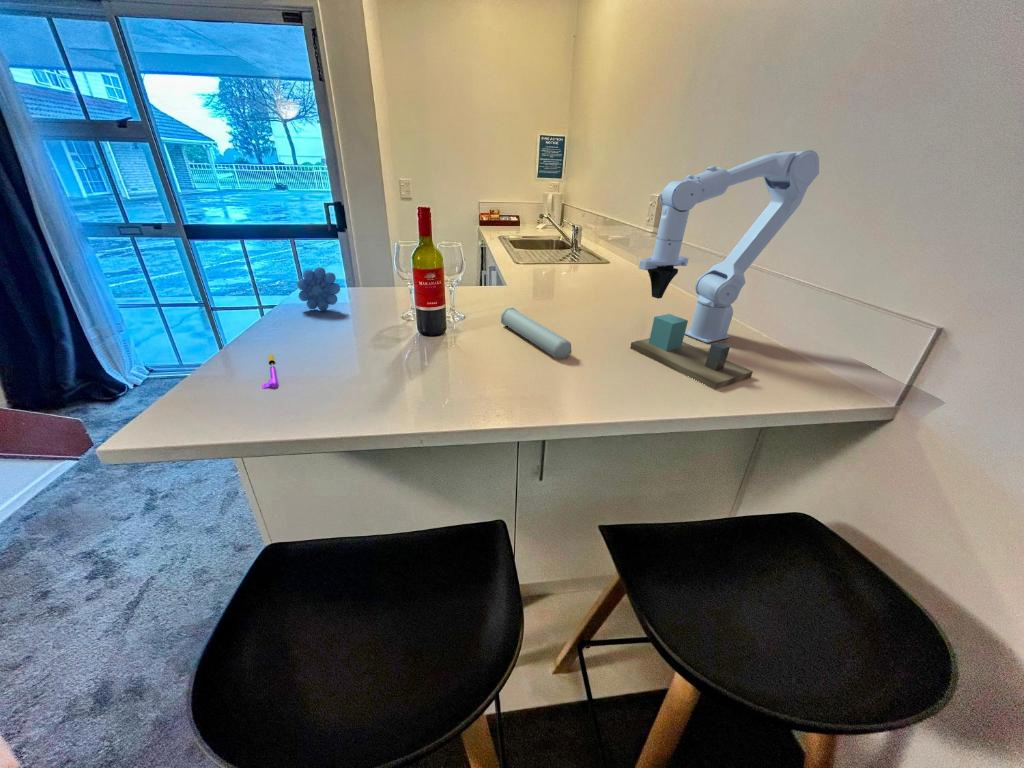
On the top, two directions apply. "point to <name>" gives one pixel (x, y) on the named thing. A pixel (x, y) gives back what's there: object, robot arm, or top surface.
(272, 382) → the purple bent rod
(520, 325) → the tube
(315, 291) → the grapes
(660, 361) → the brown wooden board
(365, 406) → the top surface
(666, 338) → the teal block
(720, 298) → the robot arm
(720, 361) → the graphite post
